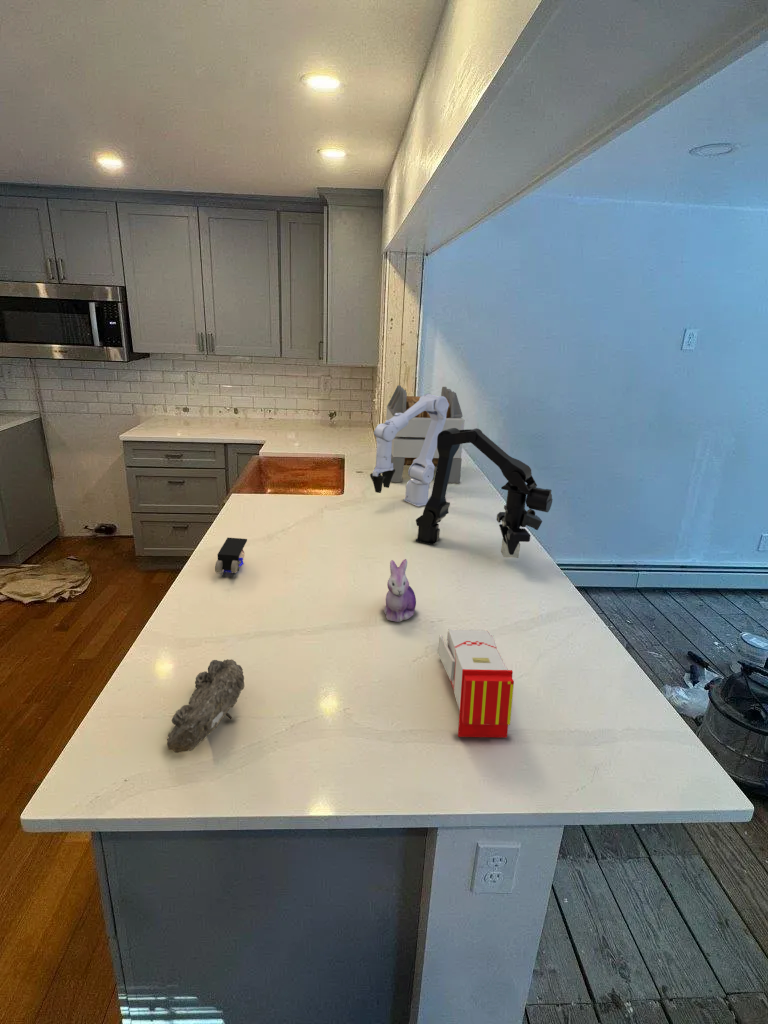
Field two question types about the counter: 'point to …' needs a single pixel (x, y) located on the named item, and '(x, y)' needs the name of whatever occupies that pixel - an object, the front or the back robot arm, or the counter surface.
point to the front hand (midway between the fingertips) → (509, 551)
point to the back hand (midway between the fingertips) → (382, 489)
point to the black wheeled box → (230, 556)
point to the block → (506, 552)
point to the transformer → (421, 432)
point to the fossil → (206, 705)
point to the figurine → (399, 594)
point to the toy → (478, 682)
